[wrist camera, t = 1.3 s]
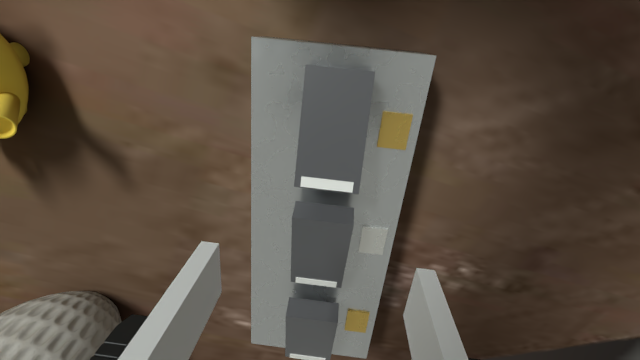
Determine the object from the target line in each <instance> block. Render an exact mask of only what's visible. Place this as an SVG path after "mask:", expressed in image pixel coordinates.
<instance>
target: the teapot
mask: <svg viewBox="0 0 640 360" xmlns="http://www.w3.org/2000/svg"><path fill="white" fill-rule="evenodd" d="M29 61H30V57H29V54H28V52H27V50H26V49H25V48H24V47H23V46H22V45H21V44H19V43H16V42H12V43H8V41H7V40H6V39H5V38H4V37H3V36H2V35H1V34H0V139H6V138H10V137H12V136H14V135H15V134H16V132H17V126H18V124H19V123H20V121H21V120H22V118H23V116H24V114H26V112H27V103H28V95H29V86H28V80H27V76H26V72H25V70H24V66H27V65H28V64H29Z"/></svg>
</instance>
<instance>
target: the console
mask: <svg viewBox="0 0 640 360" xmlns="http://www.w3.org/2000/svg"><path fill="white" fill-rule="evenodd" d="M435 60H436V56H435V55H431V54H426V53H421V52H411V51H401V50H391V49H382V48H372V47H362V46H352V45H343V44H333V43H323V42H314V41H304V40H294V39H284V38H275V37H251V343H254V344H261V345H269V346H276V347H284V348H285V340H286V311H287V306H288V301H289V297H293V298H301V299H309V300H317V301H324V302H332V303H339V311H338V325H337V329H336V334H335V338H334V343H333V348H332V352H331V354H336V355H343V356H351V357H358V358H365V359H366V358H367V353H368V349H369V345H370V340H371V336H372V332H373V328H374V323H375V319H376V315H377V310H378V306H379V302H380V297H381V293H382V289H383V284H384V280H385V276H386V271H387V267H388V263H389V258H390V254H391V250H392V245H393V241H394V237H395V232H396V228H397V224H398V220H399V215H400V211H401V207H402V202H403V198H404V194H405V189H406V185H407V181H408V176H409V172H410V168H411V163H412V159H413V155H414V150H415V146H416V142H417V137H418V133H419V129H420V124H421V120H422V116H423V112H424V107H425V103H426V99H427V94H428V90H429V86H430V81H431V77H432V73H433V68H434V64H435ZM306 64H307V65H316V66H326V67H335V68H345V69H354V70H364V71H373V72H375V78H374V86H373V93H372V101H371V108H370V115H369V123H368V130H367V137H366V145H365V152H364V160H363V167H362V174H361V182H360V189H359V194H350V193H342V192H333V191H325V190H316V189H308V188H299V187H294V180H295V170H296V159H297V149H298V138H299V128H300V117H301V107H302V96H303V86H304V75H305V65H306ZM296 201H302V202H310V203H319V204H327V205H336V206H344V207H352V208H354V226H353V231H352V236H351V241H350V246H349V251H348V256H347V261H346V266H345V271H344V276H343V281H342V286H341V288H337V287H336V288H334V287H326V286H319V285H311V284H303V283H295V282H291V237H292V215H293V211H294V206H295V202H296Z"/></svg>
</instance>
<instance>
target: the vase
mask: <svg viewBox="0 0 640 360" xmlns="http://www.w3.org/2000/svg"><path fill="white" fill-rule="evenodd" d="M121 322H122V321H121V317H120V314H119V311H118V308H117V307H116V305H115V304H114V303H113V302H112V301H111V300H110V299H108V298H107V297H105V296H103V295H101V294H99V293H96V292H91V291H73V292H62V293H57V294H52V295H48V296H44V297H41V298H37V299H34V300H30V301H27V302H24V303H22V304H20V305H18V306H16V307H13V308H11V309H9V310H7V311H5V312H3V313H1V314H0V360H90V358H91V357H92V356H94V355H95V352H96V351H97V350H98V348H99V347H100V346H101V345H102V344H104V342H105V340H106V338H107V337H108V336H109V335H110V333H111V332H112V331H113V330H114V328H115V327H116V326H117V325H118V324H120V323H121Z"/></svg>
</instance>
